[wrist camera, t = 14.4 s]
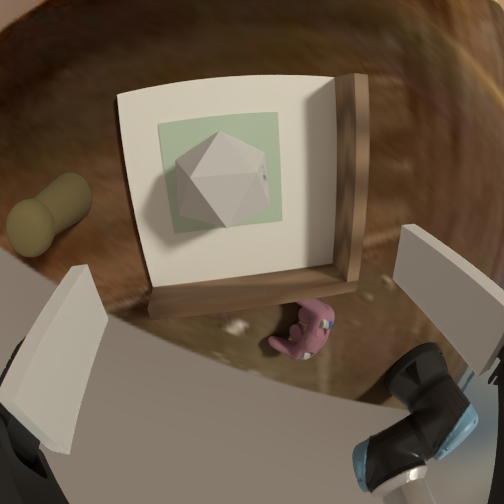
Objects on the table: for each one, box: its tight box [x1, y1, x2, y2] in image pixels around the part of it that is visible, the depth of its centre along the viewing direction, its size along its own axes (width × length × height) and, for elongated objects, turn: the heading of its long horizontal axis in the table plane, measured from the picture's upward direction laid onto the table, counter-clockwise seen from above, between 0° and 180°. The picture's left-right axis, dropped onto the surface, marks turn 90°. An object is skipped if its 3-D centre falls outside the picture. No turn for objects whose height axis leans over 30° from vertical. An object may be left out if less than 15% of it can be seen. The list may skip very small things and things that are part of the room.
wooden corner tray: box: [117, 73, 369, 320], centre depth 28 cm, size 24×24×5 cm
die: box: [175, 131, 270, 228], centre depth 25 cm, size 8×9×10 cm
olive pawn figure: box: [6, 172, 92, 257], centre depth 22 cm, size 6×6×11 cm
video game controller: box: [268, 298, 335, 360], centre depth 37 cm, size 10×5×7 cm, turn 161°
